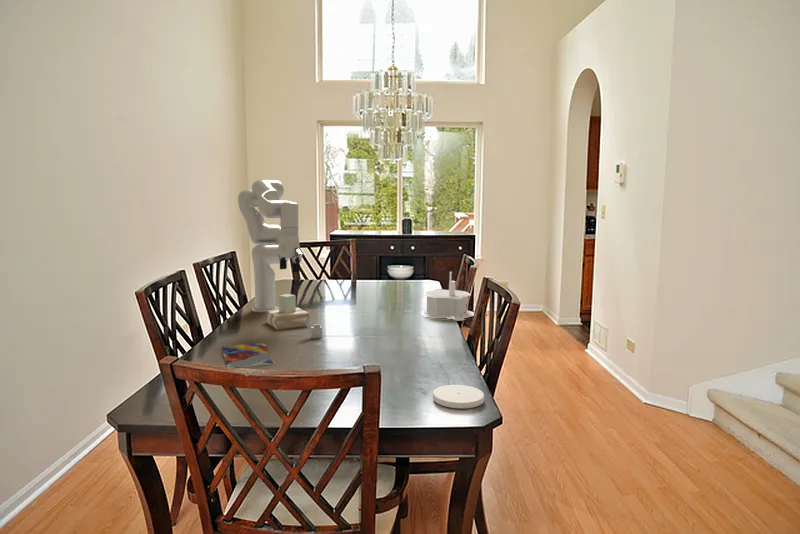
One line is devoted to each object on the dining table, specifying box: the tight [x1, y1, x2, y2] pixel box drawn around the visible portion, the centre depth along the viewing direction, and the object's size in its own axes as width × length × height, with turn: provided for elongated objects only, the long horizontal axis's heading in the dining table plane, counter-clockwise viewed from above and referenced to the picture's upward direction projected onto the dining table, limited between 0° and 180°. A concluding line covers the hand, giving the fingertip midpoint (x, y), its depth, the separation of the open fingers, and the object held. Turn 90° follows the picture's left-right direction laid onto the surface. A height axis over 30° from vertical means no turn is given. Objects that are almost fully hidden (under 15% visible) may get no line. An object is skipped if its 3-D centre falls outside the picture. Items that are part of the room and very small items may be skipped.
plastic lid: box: [432, 384, 485, 409], centre depth 153 cm, size 14×14×2 cm
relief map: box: [221, 342, 276, 369], centre depth 193 cm, size 25×15×2 cm, turn 21°
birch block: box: [266, 306, 310, 330], centre depth 238 cm, size 14×14×6 cm
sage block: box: [278, 293, 297, 313], centre depth 238 cm, size 5×5×7 cm
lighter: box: [303, 318, 323, 339], centre depth 217 cm, size 7×2×8 cm, turn 104°
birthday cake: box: [421, 271, 475, 322], centre depth 260 cm, size 30×29×22 cm
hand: (289, 270), depth 240 cm, fingers open, 9 cm apart
